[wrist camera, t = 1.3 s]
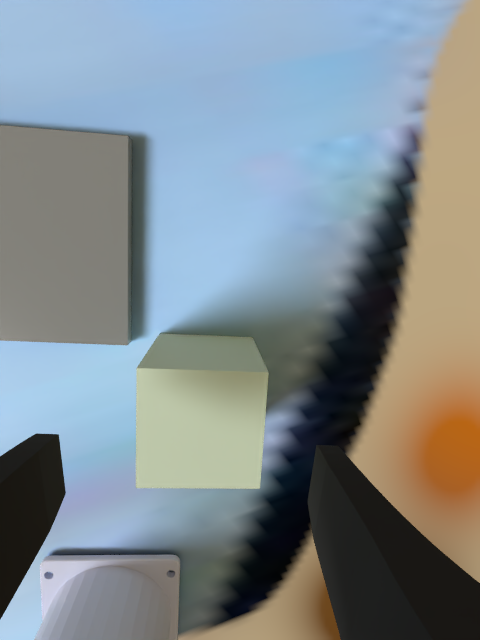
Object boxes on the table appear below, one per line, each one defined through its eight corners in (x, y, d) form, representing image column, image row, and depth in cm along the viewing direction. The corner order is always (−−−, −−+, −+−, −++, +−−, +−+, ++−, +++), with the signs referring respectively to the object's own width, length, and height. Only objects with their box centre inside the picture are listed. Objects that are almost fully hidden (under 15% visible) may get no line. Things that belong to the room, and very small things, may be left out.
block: (246, 421, 21) (259, 488, 15) (158, 419, 20) (135, 487, 14) (252, 336, 20) (268, 372, 14) (159, 333, 19) (136, 368, 13)
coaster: (131, 341, 19) (127, 345, 18) (-68, 333, 18) (-81, 337, 18) (131, 141, 17) (128, 135, 17) (-89, 122, 17) (-104, 116, 16)
